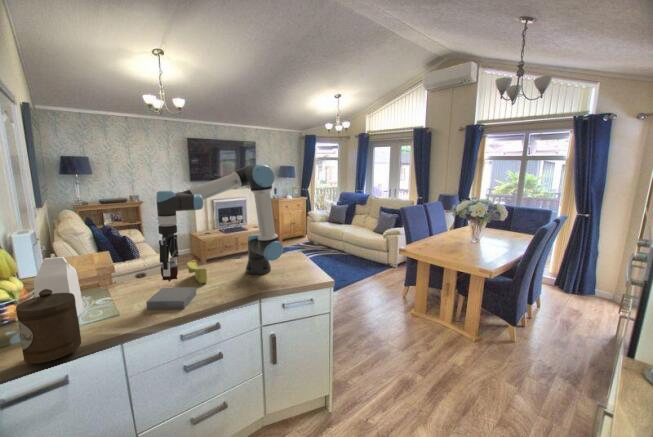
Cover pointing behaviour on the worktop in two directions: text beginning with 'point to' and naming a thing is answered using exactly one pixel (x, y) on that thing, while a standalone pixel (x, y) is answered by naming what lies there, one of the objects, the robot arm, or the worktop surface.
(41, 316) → the wooden container
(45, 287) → the milk
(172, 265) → the mate gourd
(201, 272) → the plastic component
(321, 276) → the worktop surface
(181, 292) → the stand
